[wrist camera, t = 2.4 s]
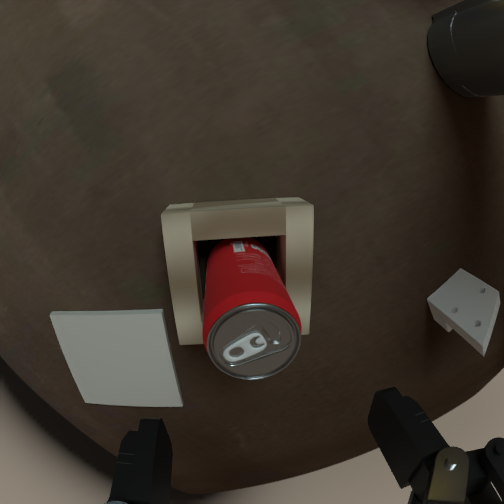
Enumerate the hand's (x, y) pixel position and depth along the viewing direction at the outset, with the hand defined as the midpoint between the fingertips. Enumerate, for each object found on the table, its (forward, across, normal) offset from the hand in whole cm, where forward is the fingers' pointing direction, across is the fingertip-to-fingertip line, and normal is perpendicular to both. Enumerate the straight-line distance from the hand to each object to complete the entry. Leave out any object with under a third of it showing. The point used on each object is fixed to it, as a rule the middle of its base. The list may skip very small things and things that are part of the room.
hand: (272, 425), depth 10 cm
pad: (+17, +13, +10) cm, 24 cm away
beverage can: (+17, 0, 0) cm, 17 cm away
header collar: (+17, 0, 0) cm, 17 cm away
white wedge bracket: (+17, -24, +6) cm, 30 cm away
